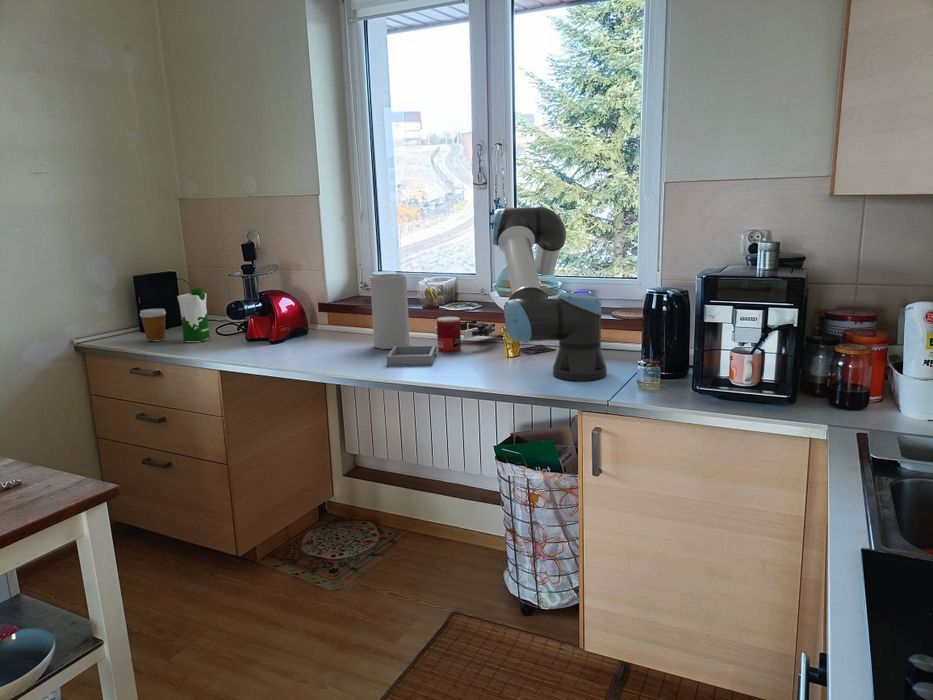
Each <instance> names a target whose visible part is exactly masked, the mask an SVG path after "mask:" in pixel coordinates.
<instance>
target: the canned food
mask: <svg viewBox="0 0 933 700" xmlns="http://www.w3.org/2000/svg"><path fill="white" fill-rule="evenodd" d="M460 322H461V318H460V317H458V316H441V317H437V318H436V327H437V335H436V337H437V350H438V351H439V352H440V351H441V353H456V351H457V352H460V351H459V350H461V348H462V346H461V345H462V342H461V339H462V338H461V337H462V336H461V330H460Z"/></svg>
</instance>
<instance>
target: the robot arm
mask: <svg viewBox="0 0 933 700" xmlns="http://www.w3.org/2000/svg"><path fill="white" fill-rule="evenodd" d="M492 230H493V231H492V244H493V245H494V246H498V247H499V250H500V251H501V252H502V253H504V256H505V263H506V269H507V275H508V277H509V281H510V287H511V293H512V295H511V296H510V298H509V300H508V301H507V302H506V303H505V305H504V318H505V325H506V329H507V330H506V332H507V335H508V337H509V339H510V340H512V341H514V342H523V343H528V342H541V341H542V342H543V341H545V342H547V341H559V343H558V344H559V345H558V346H559V347H558V350H557V351H558V352H557V355H556V357H555V361H554V364H553V367H552V369H553V370H552V375H553V377H555V376H556V377H555V378H557V377H558V378H557V379H560V378H562V379H561V380H564V379H568V380H567V381H571V380H580V381H579V382H587V381H589V382H591V381H596V380H597V381H598V380H601V379H604V378H606V377H607V375H608V374H607V365H606V362H605V359H604V355H603V351H602V348H601V347H602V345H601V344H602V343H601V341H602V337H601V336H602V315H603V314H602V313H603V312H602V304H601V300H600V299H599V298H598V297H596V296H594V295H589V294H584V293H577V292H576V293H575V292H560V293H559V295H558V298H554V299H548V296H547V294H546V293H545V291H543V290H542V289H541V288H540V284H539V279H538V274H541V275H553V276H554V274H555V269H556V266H557V261H558V259H559V254H560V250H561V249H563V247H564V245H565V244H566V239H567V230H566V227H565V223H564V221H563V220H562V218H560V216H559V215H558V213H557V212H555V211H553V210H552V209H550V208H546V207H543V206H536V207H532V206H531V207H505V208H504V207H503V208H497V209H496V210H494V214H493V229H492ZM534 245H537V248H536V253H535V256H534V251H533V247H534ZM537 273H538V274H537ZM496 281H497V278H496V279H495V281H494V284H495V283H496ZM494 305H495V306H497V305H496V304H494ZM495 306H494V307H495ZM465 321H466V320H465ZM467 323H469V325H468V328H467ZM460 331H463V339H465V340H467V339H471V338H475V337H479V336H481V337H482V336H485V337H488V336H489V335H491V334H492V333H491V332H493V331H495V324H489V325H488V324H485V323H482V321H479V323H477V322H476V321H472V320H469V321H468V320H467V321H466V322H461V321H460ZM490 333H491V334H490ZM483 334H484V335H483ZM434 335H435V336H437V326H434Z"/></svg>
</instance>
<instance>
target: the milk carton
mask: <svg viewBox="0 0 933 700" xmlns="http://www.w3.org/2000/svg"><path fill="white" fill-rule="evenodd" d="M176 298H177V301H178V305H179V309H180V310H179V311H180V320H181V326H182V327H181V328H182V337H183V338H182V339H183V342H184V341H202V340H204V339H206V338H209V337H210V338H211V335H210V329H209V320H208V310H207V293H206V292H203V288H191V289H190V293H185V294H181V295H177V296H176Z"/></svg>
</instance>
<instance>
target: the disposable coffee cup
mask: <svg viewBox="0 0 933 700" xmlns="http://www.w3.org/2000/svg"><path fill="white" fill-rule="evenodd" d="M139 312H140V313H139V314H138V315H139V316H140V319H141V322H142V326H143V329H144V333H145V338H146V340H149V341H154V340H161V339H164V338H165V339H166V314H167V311H166V309H165V308H149V309H147V308H146V309H142V310H140V311H139Z"/></svg>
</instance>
